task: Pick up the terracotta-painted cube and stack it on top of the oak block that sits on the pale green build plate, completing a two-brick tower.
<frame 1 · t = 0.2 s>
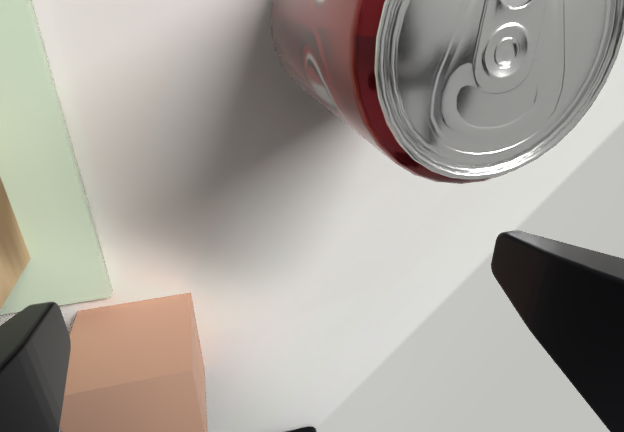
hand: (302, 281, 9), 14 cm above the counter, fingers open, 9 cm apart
soda can: (342, 21, 20), on the counter
terracotta block: (146, 341, 26), on the counter
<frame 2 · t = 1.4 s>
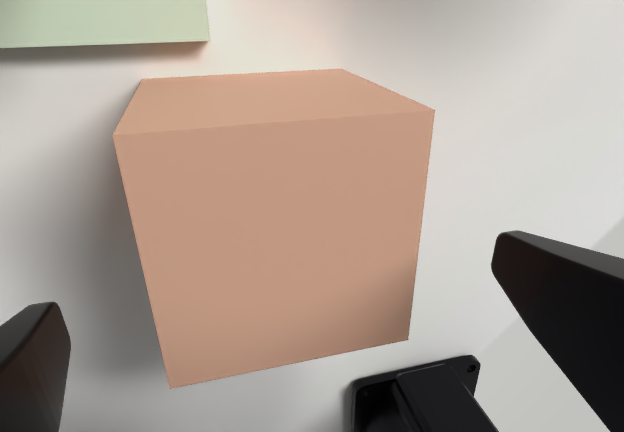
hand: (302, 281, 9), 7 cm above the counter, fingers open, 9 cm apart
terracotta block: (253, 166, 14), on the counter
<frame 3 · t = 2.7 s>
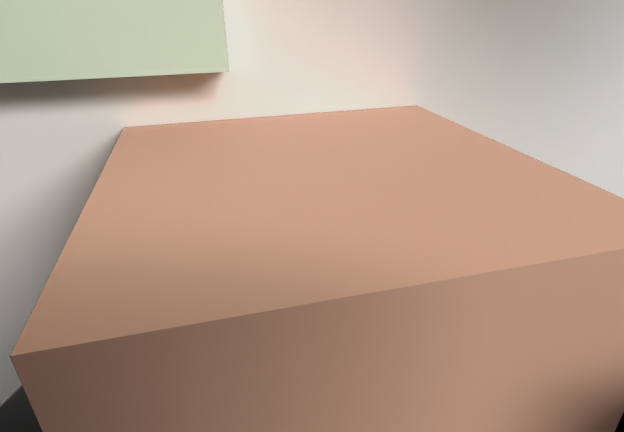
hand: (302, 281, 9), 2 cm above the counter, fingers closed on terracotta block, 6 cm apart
terracotta block: (287, 243, 10), on the counter, touching gripper
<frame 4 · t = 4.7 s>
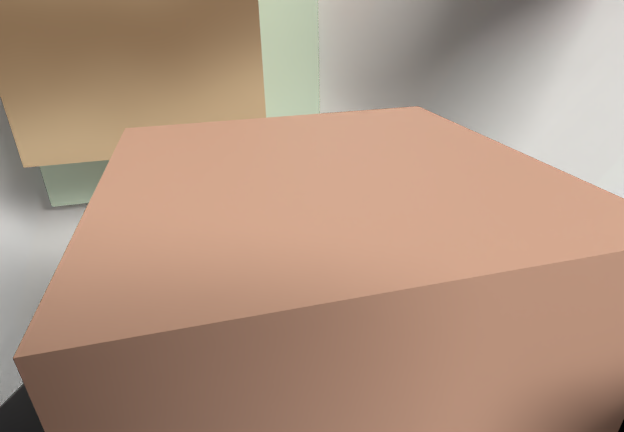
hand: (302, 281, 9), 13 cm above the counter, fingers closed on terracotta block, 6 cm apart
oak block: (142, 26, 17), point 1 cm above the counter, touching build plate
terracotta block: (288, 244, 10), point 11 cm above the counter, touching gripper
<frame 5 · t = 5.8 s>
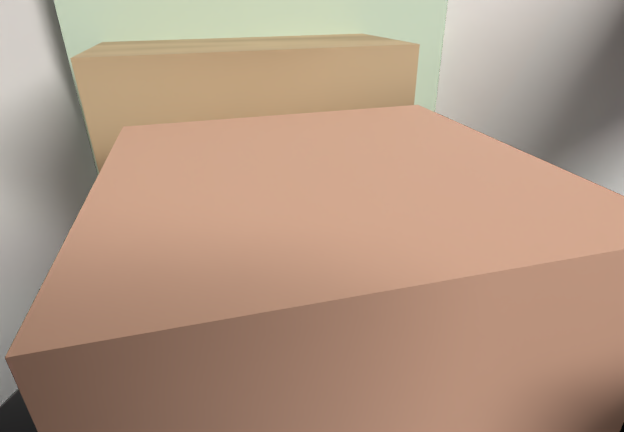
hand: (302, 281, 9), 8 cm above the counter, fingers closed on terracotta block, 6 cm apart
oak block: (250, 160, 15), point 1 cm above the counter, touching build plate
build plate: (274, 125, 15), on the counter
terracotta block: (287, 243, 10), point 7 cm above the counter, touching gripper
when the fingers open (7 cm above the counter, at t = 6.8 s): terracotta block stays where it is, resting on oak block.
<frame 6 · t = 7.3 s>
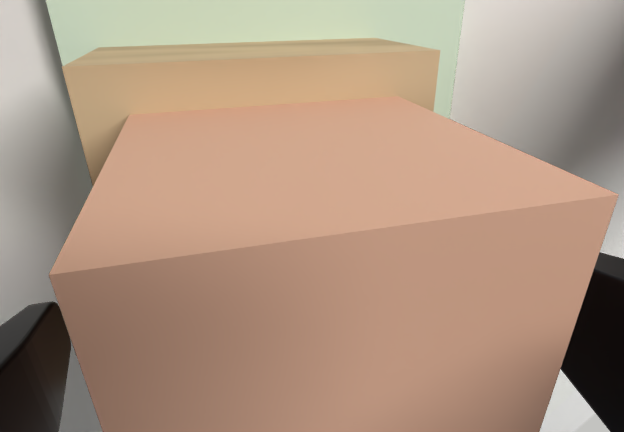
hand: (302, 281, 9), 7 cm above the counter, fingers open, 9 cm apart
oak block: (256, 171, 14), point 1 cm above the counter, touching build plate, terracotta block
build plate: (280, 134, 15), on the counter
terracotta block: (279, 224, 11), point 5 cm above the counter, touching oak block
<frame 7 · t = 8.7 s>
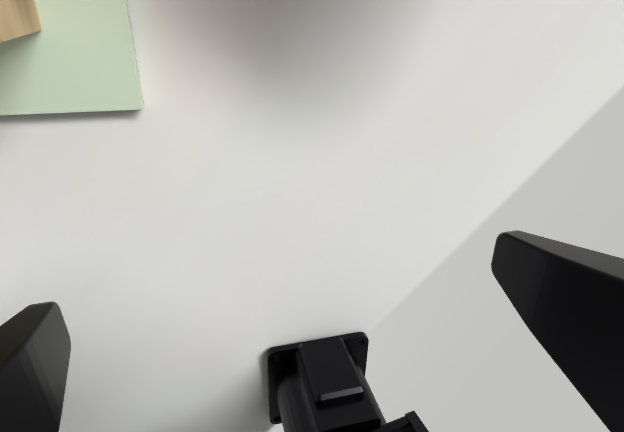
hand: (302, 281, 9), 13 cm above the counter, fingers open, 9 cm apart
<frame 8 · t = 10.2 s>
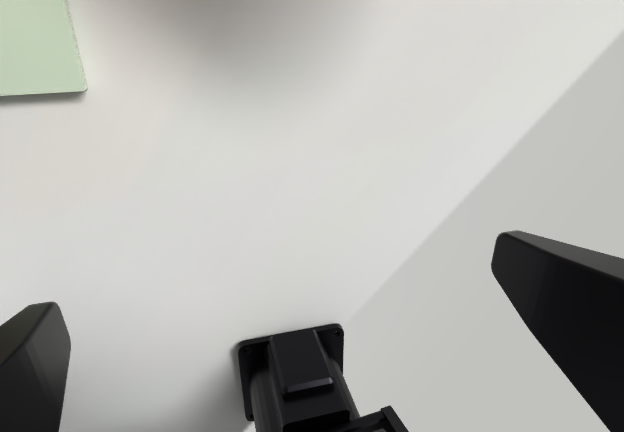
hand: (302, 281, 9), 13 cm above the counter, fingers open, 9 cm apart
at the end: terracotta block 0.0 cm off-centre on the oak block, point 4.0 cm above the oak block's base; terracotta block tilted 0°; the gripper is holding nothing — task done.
